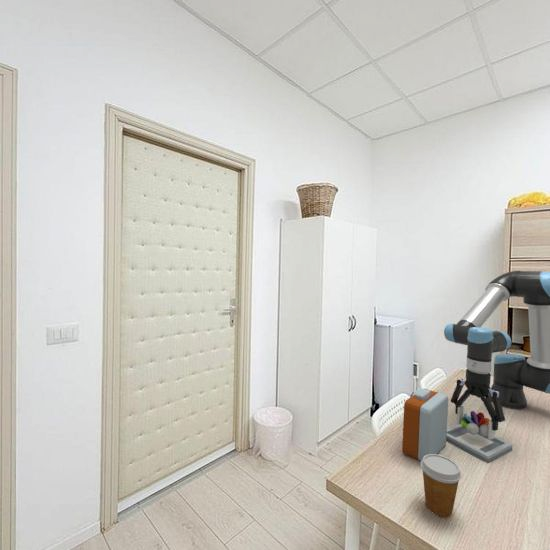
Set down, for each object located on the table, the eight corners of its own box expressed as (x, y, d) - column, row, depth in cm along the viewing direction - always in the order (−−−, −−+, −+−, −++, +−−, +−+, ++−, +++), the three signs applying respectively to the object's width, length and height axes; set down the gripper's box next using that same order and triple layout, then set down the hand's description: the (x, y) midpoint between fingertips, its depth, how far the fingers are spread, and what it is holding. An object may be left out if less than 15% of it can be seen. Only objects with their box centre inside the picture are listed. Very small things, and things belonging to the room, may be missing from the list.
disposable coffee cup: (442, 493, 88) (444, 451, 87) (468, 520, 78) (470, 474, 78) (411, 496, 86) (413, 454, 86) (434, 524, 77) (436, 477, 76)
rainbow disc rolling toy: (495, 439, 108) (497, 419, 108) (465, 435, 110) (466, 415, 110) (485, 427, 116) (486, 408, 116) (456, 423, 118) (457, 405, 118)
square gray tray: (463, 427, 125) (463, 422, 125) (512, 450, 110) (512, 444, 110) (438, 437, 117) (439, 431, 117) (487, 463, 102) (488, 456, 102)
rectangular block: (421, 434, 119) (424, 381, 118) (446, 444, 112) (449, 388, 112) (401, 454, 106) (403, 394, 105) (428, 466, 99) (431, 403, 99)
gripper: (441, 362, 121) (439, 418, 121) (508, 383, 101) (505, 450, 101) (453, 360, 124) (450, 414, 125) (520, 379, 104) (516, 444, 105)
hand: (474, 430), depth 113 cm, fingers closed on rainbow disc rolling toy, 10 cm apart
